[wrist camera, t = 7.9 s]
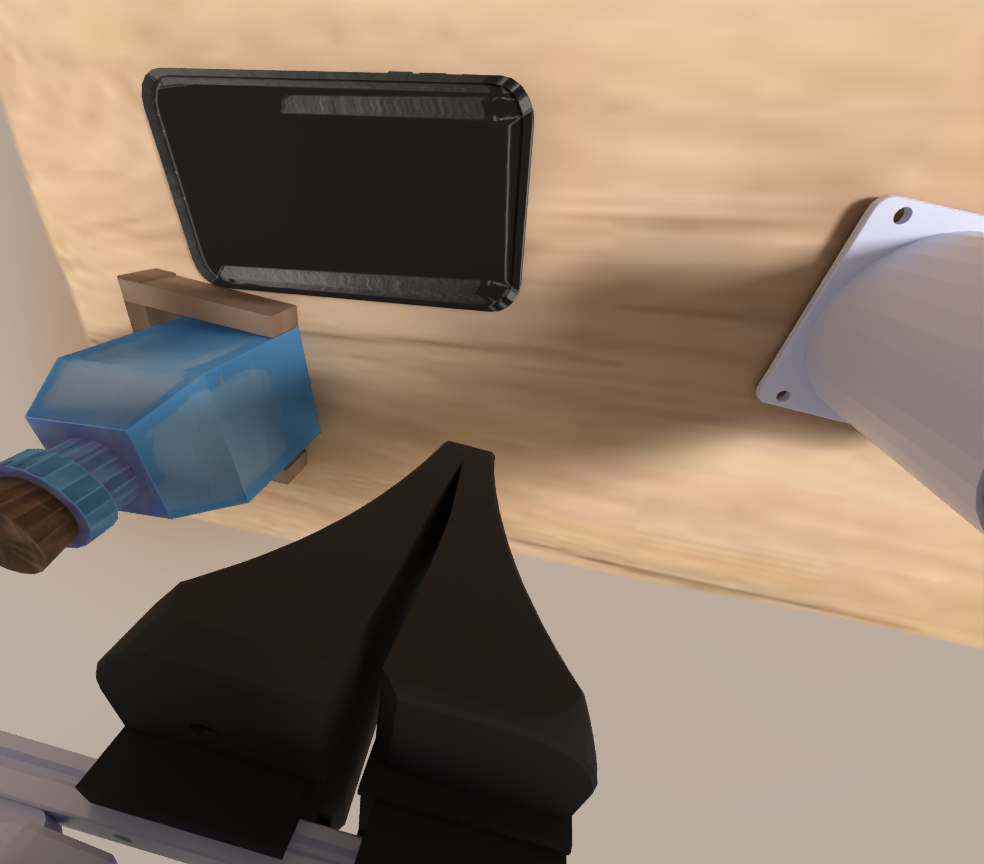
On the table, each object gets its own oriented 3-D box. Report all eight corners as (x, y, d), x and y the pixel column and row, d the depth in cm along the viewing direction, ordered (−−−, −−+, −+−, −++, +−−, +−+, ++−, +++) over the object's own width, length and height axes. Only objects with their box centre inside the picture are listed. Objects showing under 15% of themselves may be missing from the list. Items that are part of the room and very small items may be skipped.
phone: (517, 314, 17) (200, 285, 19) (520, 307, 18) (218, 281, 20) (536, 71, 13) (129, 62, 15) (538, 79, 14) (155, 70, 16)
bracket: (296, 303, 19) (270, 314, 18) (306, 465, 25) (287, 485, 23) (155, 268, 20) (117, 275, 18) (196, 436, 25) (169, 454, 23)
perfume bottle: (320, 432, 23) (129, 619, 13) (223, 419, 24) (-30, 588, 14) (298, 326, 20) (21, 465, 10) (186, 315, 21) (-178, 435, 11)
